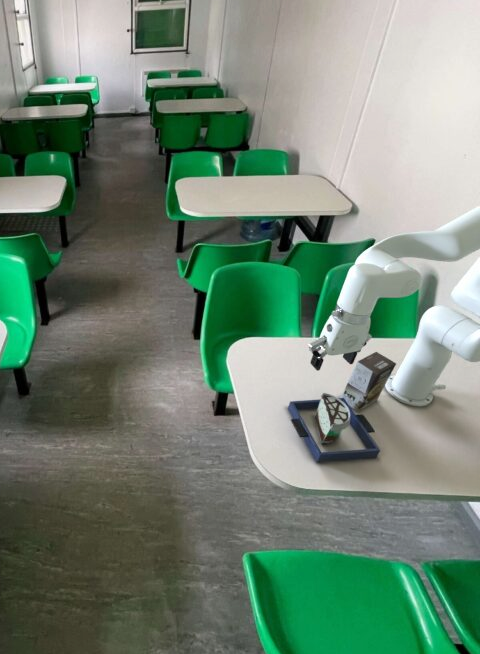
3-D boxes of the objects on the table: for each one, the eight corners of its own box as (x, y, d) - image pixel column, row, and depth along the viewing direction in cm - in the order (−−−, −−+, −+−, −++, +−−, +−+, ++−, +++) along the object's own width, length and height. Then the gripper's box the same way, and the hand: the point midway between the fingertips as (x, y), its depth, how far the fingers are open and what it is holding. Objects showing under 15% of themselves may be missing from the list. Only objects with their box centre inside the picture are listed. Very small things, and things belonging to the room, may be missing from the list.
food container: (346, 452, 117) (358, 429, 111) (322, 448, 118) (333, 425, 112) (335, 416, 127) (345, 394, 121) (313, 414, 128) (322, 391, 122)
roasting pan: (347, 404, 130) (351, 397, 128) (384, 457, 115) (389, 450, 113) (279, 409, 129) (282, 401, 127) (307, 463, 114) (311, 455, 112)
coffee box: (358, 412, 128) (377, 374, 118) (339, 398, 132) (356, 360, 123) (377, 401, 131) (397, 363, 121) (358, 387, 136) (376, 350, 126)
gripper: (330, 327, 97) (310, 379, 107) (395, 316, 100) (370, 368, 110) (310, 308, 103) (293, 359, 113) (372, 298, 106) (350, 349, 116)
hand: (331, 363), depth 112 cm, fingers open, 9 cm apart
